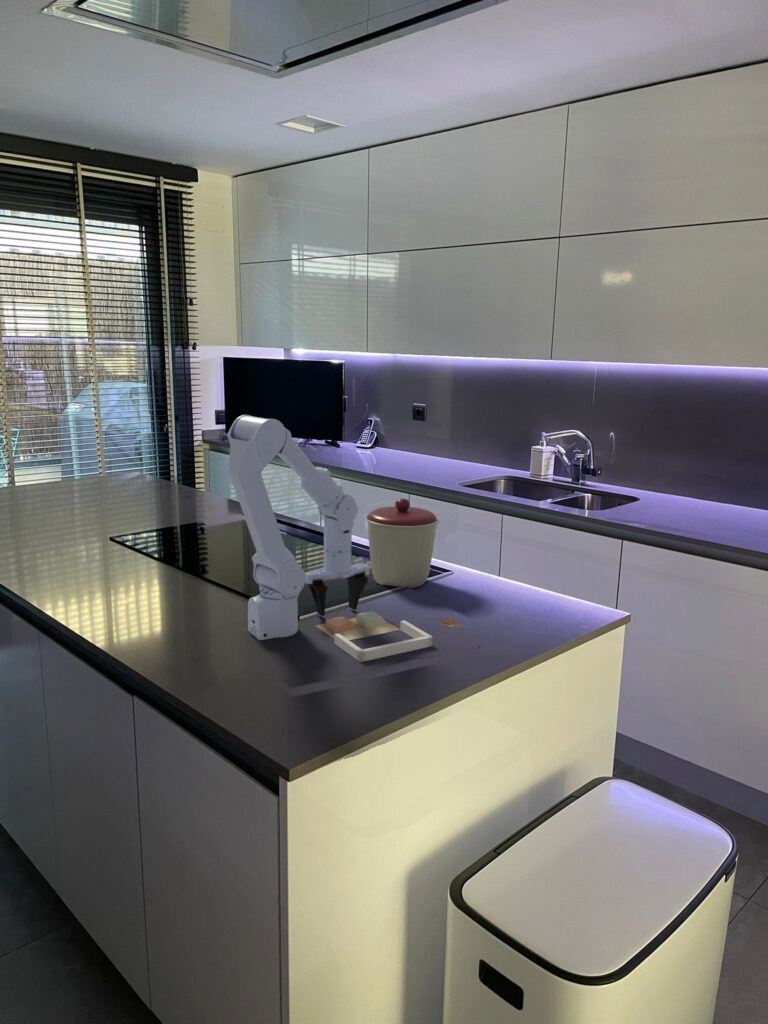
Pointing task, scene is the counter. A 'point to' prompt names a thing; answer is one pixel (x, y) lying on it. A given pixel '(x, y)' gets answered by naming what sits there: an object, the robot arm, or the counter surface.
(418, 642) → the tray
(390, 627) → the maple board
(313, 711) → the counter surface
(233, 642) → the counter surface
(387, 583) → the canister
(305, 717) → the counter surface
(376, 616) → the sage tile
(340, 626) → the terracotta tile
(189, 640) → the counter surface
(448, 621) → the shard
